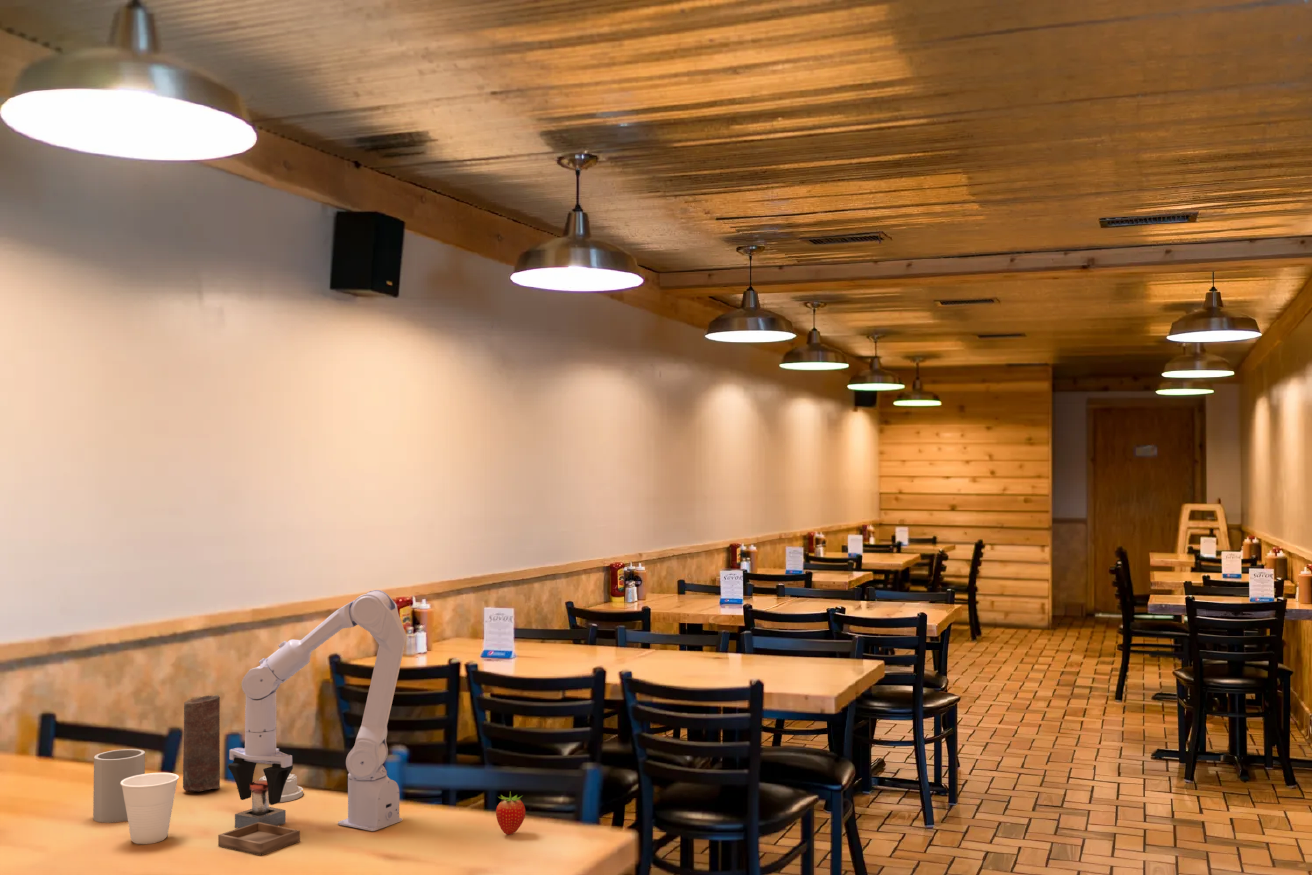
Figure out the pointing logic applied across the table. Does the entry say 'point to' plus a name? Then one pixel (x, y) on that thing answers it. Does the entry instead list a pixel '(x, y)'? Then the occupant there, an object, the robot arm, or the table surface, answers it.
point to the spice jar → (259, 797)
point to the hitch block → (261, 817)
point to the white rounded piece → (289, 789)
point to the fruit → (510, 814)
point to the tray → (259, 838)
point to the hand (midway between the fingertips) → (260, 800)
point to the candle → (201, 743)
